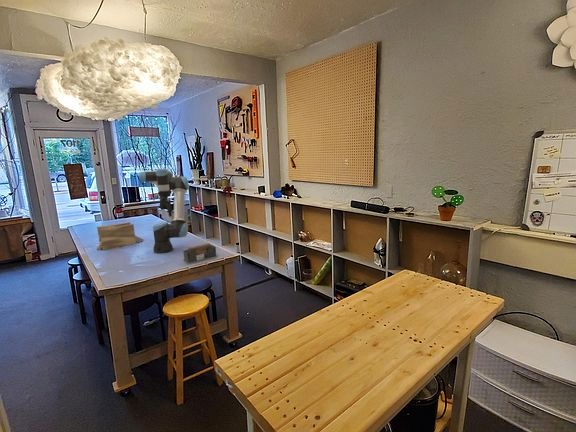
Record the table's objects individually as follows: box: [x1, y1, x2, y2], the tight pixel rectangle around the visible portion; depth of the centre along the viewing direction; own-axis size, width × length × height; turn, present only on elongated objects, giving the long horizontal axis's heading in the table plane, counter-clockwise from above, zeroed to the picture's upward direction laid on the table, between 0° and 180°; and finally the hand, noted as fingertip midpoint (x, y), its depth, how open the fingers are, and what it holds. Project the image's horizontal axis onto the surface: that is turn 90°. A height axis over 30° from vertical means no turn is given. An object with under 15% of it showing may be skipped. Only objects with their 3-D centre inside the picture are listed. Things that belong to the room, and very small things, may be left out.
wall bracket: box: [96, 224, 145, 251], centre depth 273 cm, size 22×4×30 cm
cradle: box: [96, 221, 137, 251], centre depth 272 cm, size 14×26×18 cm, turn 130°
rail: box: [186, 243, 212, 256], centre depth 230 cm, size 4×17×6 cm, turn 130°
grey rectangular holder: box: [182, 244, 218, 265], centre depth 231 cm, size 10×23×8 cm, turn 130°
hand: (167, 219), depth 223 cm, fingers open, 13 cm apart
